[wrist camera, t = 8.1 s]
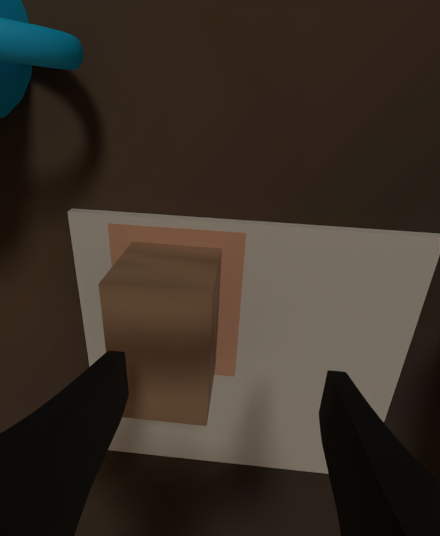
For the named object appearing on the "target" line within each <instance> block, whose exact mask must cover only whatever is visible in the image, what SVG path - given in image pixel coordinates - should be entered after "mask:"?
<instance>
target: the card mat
mask: <svg viewBox="0 0 440 536" xmlns="http://www.w3.org/2000/svg"><path fill="white" fill-rule="evenodd" d="M68 219H69V226H70V233H71V240H72V247H73V254H74V261H75V268H76V275H77V282H78V289H79V296H80V303H81V310H82V317H83V324H84V331H85V338H86V345H87V352H88V359H89V366H91V365H92V364H93V363H94V362H96V361H97V360H98V359H99V358H100V357H101V356H102V355H104V354H105V353H106V347H105V338H104V329H103V320H102V311H101V302H100V293H99V283H100V281H101V280H102V279H103V278H104V276H105V275H106V274H107V273H108V271H109V270H110V269H111V268H112V266H113V265H114V264H115V263H116V261H117V260H118V259H119V258H120V257H121V255H122V254H123V253H124V252H125V250H126V249H127V248H128V247H129V245H130V244H131V243H132V242H146V243H159V244H172V245H185V246H198V247H211V248H222V256H221V275H220V294H219V313H218V332H217V350H216V365H215V372H214V379H213V386H212V393H211V400H210V407H209V414H208V421H207V426H201V425H192V424H182V423H172V422H163V421H153V420H144V419H134V418H124V417H122V419H121V422H120V424H119V426H118V429H117V431H116V433H115V435H114V438H113V440H112V442H111V444H110V446H109V449H108V450H112V451H121V452H130V453H140V454H149V455H159V456H168V457H177V458H187V459H196V460H205V461H215V462H224V463H233V464H243V465H252V466H262V467H271V468H280V469H290V470H299V471H308V472H318V473H327V474H329V473H328V469H327V464H326V460H325V455H324V451H323V446H322V441H321V432H320V423H319V409H320V404H321V399H322V395H323V390H324V385H325V380H326V376H327V371H328V370H331V371H342V372H346V373H347V374H348V375H349V377H350V378H351V380H352V381H353V382H354V384H355V385H356V387H357V388H358V390H359V391H360V392H361V394H362V395H363V396H364V398H365V399H366V401H367V402H368V403H369V405H370V406H371V407H372V409H373V410H374V411H375V412H376V414H377V415H378V416H379V417H380V419H381V420H382V421H383V422H384V421H385V418H386V415H387V412H388V409H389V406H390V403H391V400H392V397H393V394H394V391H395V388H396V385H397V382H398V379H399V376H400V373H401V370H402V367H403V364H404V361H405V358H406V355H407V352H408V349H409V346H410V343H411V339H412V336H413V333H414V330H415V327H416V324H417V321H418V318H419V315H420V312H421V309H422V306H423V303H424V300H425V297H426V294H427V291H428V288H429V285H430V282H431V279H432V276H433V273H434V270H435V267H436V264H437V261H438V258H439V255H440V234H438V233H423V232H408V231H394V230H379V229H365V228H350V227H335V226H321V225H306V224H291V223H277V222H262V221H247V220H233V219H218V218H204V217H189V216H174V215H160V214H145V213H130V212H116V211H101V210H86V209H71V210H69V211H68Z"/></svg>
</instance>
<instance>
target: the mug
mask: <svg viewBox="0 0 440 536" xmlns="http://www.w3.org/2000/svg"><path fill="white" fill-rule="evenodd" d="M82 61H83V48H82V45H81V43H80V42H79V40H78V39H77V38H76V37H75V36H73V35H70V34H68V33H65V32H62V31H58V30H54V29H50V28H46V27H42V26H38V25H33V24H29V22H28V17H27V14H26V11H25V9H24V7H23V5H22V3H21V0H0V118H3V117H5V116H7V115H8V114H9V113H10V112H11V110H12V109H13V108H14V107H15V106H16V105H17V104H18V103H19V102H20V101H21V100H22V98H23V96H24V93H25V91H26V88H27V86H28V83H29V81H30V78H31V74H32V65H33V66H40V67H48V68H56V69H64V70H76V69H78V68H79V67H80V66H81V64H82Z"/></svg>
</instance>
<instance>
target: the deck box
mask: <svg viewBox="0 0 440 536" xmlns="http://www.w3.org/2000/svg"><path fill="white" fill-rule="evenodd" d="M221 256H222V248H211V247H198V246H185V245H172V244H159V243H146V242H132V243H131V244H130V245H129V247H128V248H127V249H126V250H125V252H124V253H123V254H122V255H121V257H120V258H119V259H118V260H117V261H116V263H115V264H114V265H113V266H112V268H111V269H110V270H109V271H108V273H107V274H106V275H105V276H104V278H103V279H102V280H101V281H100V283H99V293H100V302H101V311H102V320H103V329H104V338H105V347H106V352H107V351H108V350H109V351H120V352H125V359H126V369H127V379H128V390H129V396H128V400H127V403H126V406H125V410H124V413H123V416H122V417H124V418H134V419H144V420H153V421H163V422H172V423H182V424H192V425H201V426H207V421H208V414H209V407H210V400H211V393H212V386H213V379H214V372H215V365H216V350H217V332H218V313H219V294H220V275H221Z"/></svg>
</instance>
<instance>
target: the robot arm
mask: <svg viewBox="0 0 440 536" xmlns="http://www.w3.org/2000/svg"><path fill="white" fill-rule="evenodd" d="M128 396H129V390H128V379H127V369H126V359H125V352H120V351H109V350H108V351H107V352H106V353H105V354H104V355H102V356H101V357H100V358H99V359H98V360H97V361H96V362H94V363H93V364H92V365H91V366H90V367H89V368H88V369H87V370H85V371H84V372H83V373H82V374H81V375H80V376H79V377H77V378H76V379H75V380H74V381H73V382H71V383H70V384H69V385H68V386H67V387H66V388H64V389H63V390H62V391H61V392H59V393H58V394H57V395H56V396H54V397H53V398H52V399H50V400H49V401H48V402H47V403H45V404H44V405H43V406H41V407H40V408H39V409H37V410H36V411H34V412H33V413H32V414H30V415H29V416H27V417H26V418H24V419H23V420H21V421H20V422H18V423H17V424H15V425H14V426H12V427H10V428H9V429H7V430H6V431H4V432H2V433H0V536H74V535H75V532H76V529H77V526H78V523H79V520H80V517H81V514H82V511H83V508H84V505H85V502H86V500H87V497H88V494H89V492H90V489H91V487H92V484H93V482H94V479H95V477H96V475H97V473H98V471H99V468H100V466H101V464H102V462H103V460H104V457H105V455H106V453H107V451H108V449H109V446H110V444H111V442H112V440H113V438H114V435H115V433H116V431H117V429H118V426H119V424H120V422H121V419H122V416H123V413H124V410H125V406H126V403H127V400H128ZM319 423H320V432H321V441H322V446H323V451H324V455H325V460H326V464H327V469H328V473H329V477H330V482H331V486H332V491H333V495H334V499H335V504H336V508H337V513H338V518H339V524H340V531H341V536H440V482H439V481H438V480H436V479H435V478H434V477H433V476H432V475H431V474H430V473H429V472H428V471H427V470H426V469H425V468H424V467H423V466H422V465H421V464H420V463H419V462H418V461H417V460H416V459H415V458H414V457H413V456H412V455H411V454H410V453H409V452H408V450H407V449H406V448H405V447H404V446H403V445H402V444H401V443H400V442H399V440H398V439H397V438H396V437H395V436H394V435H393V433H392V432H391V431H390V430H389V429H388V427H387V426H386V425H385V424H384V422H383V421H382V420H381V419H380V417H379V416H378V415H377V414H376V412H375V411H374V410H373V409H372V407H371V406H370V405H369V403H368V402H367V401H366V399H365V398H364V396H363V395H362V394H361V392H360V391H359V390H358V388H357V387H356V385H355V384H354V382H353V381H352V380H351V378H350V377H349V375H348V374H347V373H346V372H342V371H331V370H328V371H327V376H326V380H325V385H324V390H323V395H322V399H321V404H320V409H319Z"/></svg>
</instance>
